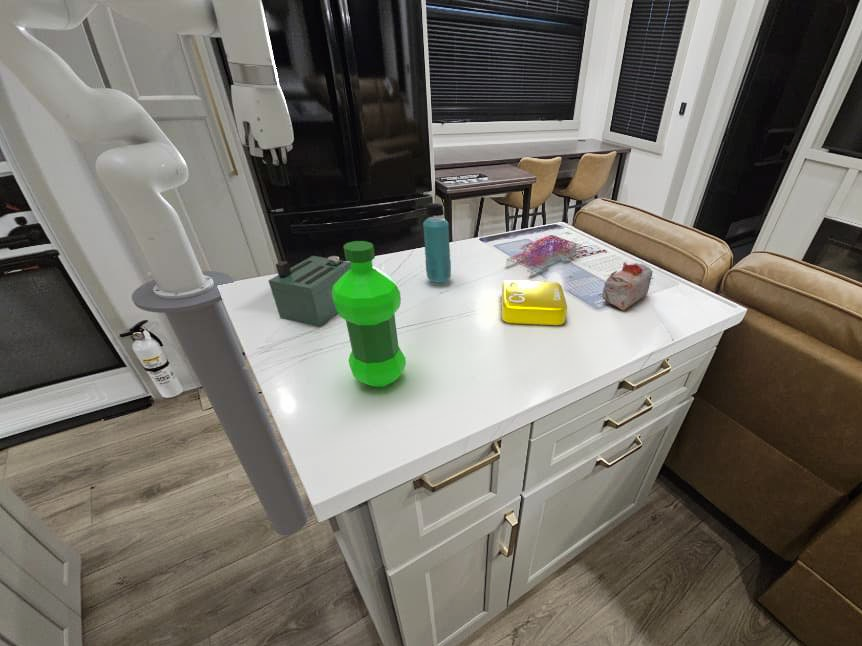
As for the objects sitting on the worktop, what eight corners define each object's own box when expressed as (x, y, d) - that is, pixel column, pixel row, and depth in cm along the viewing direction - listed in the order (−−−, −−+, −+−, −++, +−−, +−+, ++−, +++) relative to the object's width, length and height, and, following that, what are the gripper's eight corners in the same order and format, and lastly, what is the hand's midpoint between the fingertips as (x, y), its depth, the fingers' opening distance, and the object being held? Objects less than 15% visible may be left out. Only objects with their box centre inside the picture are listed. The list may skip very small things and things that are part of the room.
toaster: (280, 318, 92) (267, 280, 86) (321, 290, 104) (312, 255, 98) (320, 326, 90) (310, 287, 85) (357, 297, 102) (350, 261, 96)
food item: (625, 314, 104) (634, 277, 98) (597, 303, 108) (605, 267, 102) (649, 297, 112) (659, 262, 106) (622, 288, 116) (631, 253, 110)
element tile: (565, 326, 97) (568, 308, 94) (501, 323, 96) (502, 304, 93) (558, 297, 109) (561, 280, 106) (501, 294, 108) (502, 277, 105)
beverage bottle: (455, 285, 111) (453, 206, 99) (432, 289, 108) (427, 209, 96) (445, 275, 115) (442, 199, 103) (422, 279, 112) (416, 201, 100)
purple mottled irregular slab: (533, 281, 116) (534, 263, 113) (492, 265, 123) (493, 247, 120) (589, 254, 135) (592, 238, 132) (551, 242, 142) (553, 226, 139)
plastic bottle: (399, 357, 83) (383, 231, 68) (415, 388, 76) (401, 254, 60) (346, 369, 79) (317, 237, 64) (359, 402, 72) (328, 263, 56)
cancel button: (327, 268, 95) (325, 258, 94) (333, 264, 97) (331, 255, 96) (336, 269, 95) (335, 260, 94) (342, 266, 97) (341, 256, 95)
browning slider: (278, 275, 88) (275, 264, 87) (285, 272, 90) (281, 260, 88) (285, 276, 88) (282, 265, 86) (291, 273, 89) (288, 262, 88)
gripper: (266, 74, 83) (288, 175, 94) (204, 74, 71) (238, 189, 82) (299, 78, 81) (318, 180, 93) (242, 79, 70) (271, 195, 81)
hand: (280, 184), depth 88 cm, fingers closed
